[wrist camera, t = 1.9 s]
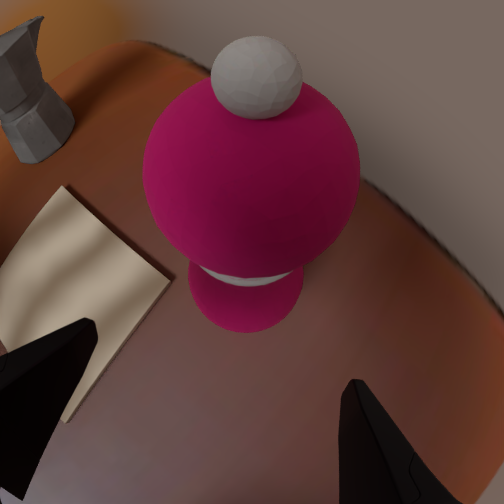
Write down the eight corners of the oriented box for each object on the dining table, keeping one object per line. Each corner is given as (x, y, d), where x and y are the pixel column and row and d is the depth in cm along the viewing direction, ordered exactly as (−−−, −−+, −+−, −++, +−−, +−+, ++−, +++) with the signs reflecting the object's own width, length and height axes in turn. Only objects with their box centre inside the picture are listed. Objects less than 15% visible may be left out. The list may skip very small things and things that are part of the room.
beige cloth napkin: (173, 284, 24) (170, 280, 23) (71, 421, 19) (65, 423, 18) (66, 191, 26) (61, 185, 25) (-14, 305, 22) (-20, 303, 21)
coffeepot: (65, 93, 31) (20, -3, 14) (101, 109, 30) (51, -12, 13) (-9, 176, 26) (-83, 94, 9) (15, 206, 25) (-82, 109, 8)
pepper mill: (249, 355, 21) (304, 376, 3) (179, 293, 23) (15, 90, 4) (309, 285, 23) (475, 83, 5) (241, 228, 25) (244, -27, 6)
